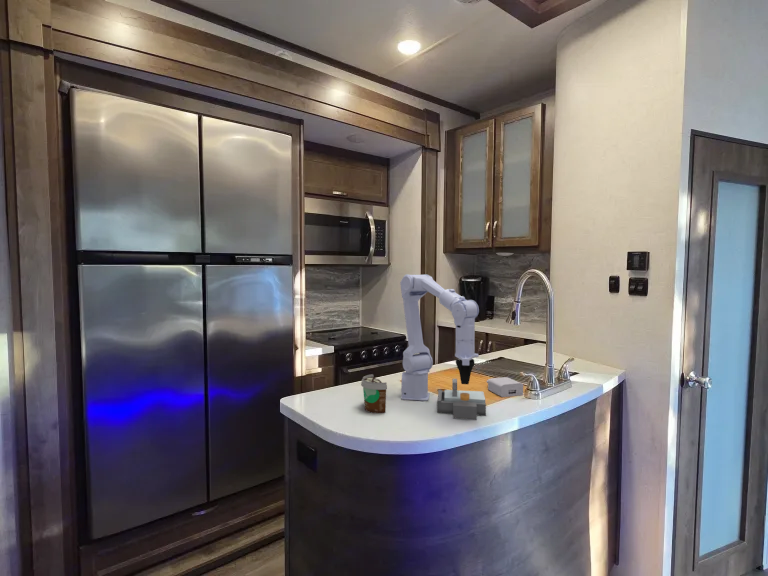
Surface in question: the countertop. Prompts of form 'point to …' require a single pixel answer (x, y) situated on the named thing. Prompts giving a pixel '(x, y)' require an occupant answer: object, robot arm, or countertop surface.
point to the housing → (460, 408)
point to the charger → (505, 387)
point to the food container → (374, 394)
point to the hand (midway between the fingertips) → (464, 383)
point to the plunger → (464, 396)
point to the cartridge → (455, 394)
